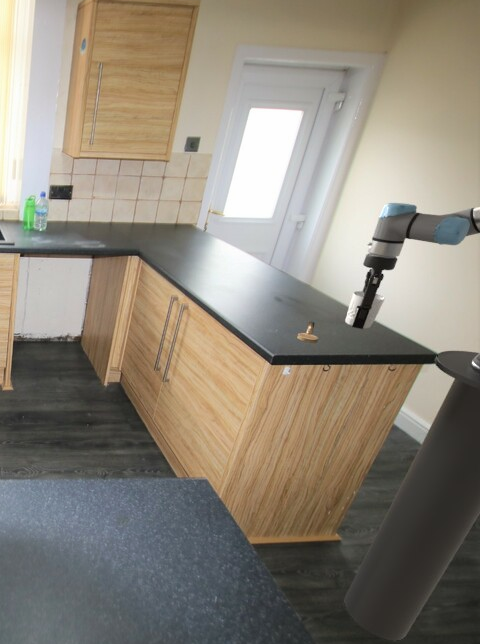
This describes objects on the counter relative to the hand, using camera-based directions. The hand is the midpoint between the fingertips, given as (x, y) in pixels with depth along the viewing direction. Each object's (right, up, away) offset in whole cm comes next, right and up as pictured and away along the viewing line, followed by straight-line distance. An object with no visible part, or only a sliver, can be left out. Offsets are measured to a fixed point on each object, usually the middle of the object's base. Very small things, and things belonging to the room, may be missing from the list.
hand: (357, 323), depth 153 cm
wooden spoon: (-8, -3, +10) cm, 14 cm away
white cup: (0, 0, 0) cm, 0 cm away
